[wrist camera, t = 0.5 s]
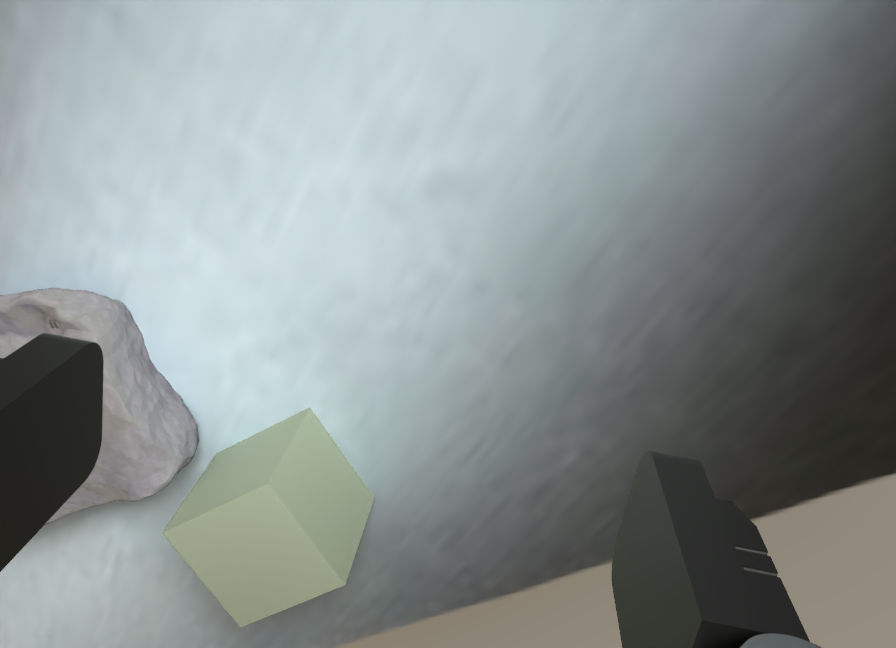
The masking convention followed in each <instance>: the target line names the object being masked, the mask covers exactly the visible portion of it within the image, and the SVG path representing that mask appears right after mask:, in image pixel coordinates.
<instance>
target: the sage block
mask: <svg viewBox="0 0 896 648" xmlns="http://www.w3.org/2000/svg"><path fill="white" fill-rule="evenodd" d="M373 501H374V496H373V495H372V493H371V492H370V491H369V489H368V488H367V486H366V485H365V484H364V482H363V481H362V479H361V478H360V477H359V475H358V474H357V472H356V471H355V470H354V468H353V467H352V465H351V464H350V463H349V461H348V460H347V458H346V457H345V456H344V454H343V453H342V451H341V450H340V449H339V447H338V446H337V444H336V443H335V442H334V440H333V439H332V437H331V436H330V435H329V433H328V432H327V430H326V429H325V428H324V426H323V425H322V423H321V422H320V421H319V419H318V418H317V416H316V415H315V414H314V412H313V411H312V409H311V408H308V409H306V410H304V411H302V412H300V413H298V414H296V415H294V416H292V417H290V418H288V419H286V420H284V421H282V422H280V423H278V424H276V425H273V426H271V427H269V428H267V429H265V430H263V431H261V432H259V433H257V434H255V435H253V436H251V437H249V438H247V439H245V440H243V441H241V442H239V443H237V444H235V445H233V446H231V447H229V448H227V449H225V450H223V451H221V452H219V453H217V454H216V456H215V457H214V459H213V460H212V462H211V463H210V464H209V466H208V467H207V469H206V470H205V472H204V473H203V475H202V476H201V477H200V479H199V480H198V482H197V483H196V485H195V486H194V488H193V489H192V491H191V492H190V493H189V495H188V496H187V498H186V499H185V501H184V502H183V504H182V505H181V506H180V508H179V509H178V511H177V512H176V514H175V515H174V517H173V518H172V519H171V521H170V522H169V524H168V525H167V527H166V528H165V530H164V531H163V532H162V534H163V535H164V536H165V537H166V539H167V540H168V541H169V542H170V543H171V545H172V546H173V547H174V548H175V549H176V551H177V552H178V553H179V554H180V555H181V557H182V558H183V559H184V560H185V561H186V563H187V564H188V565H189V566H190V567H191V569H192V570H193V571H194V572H195V573H196V575H197V576H198V577H199V578H200V580H201V581H202V582H203V583H204V584H205V586H206V587H207V588H208V589H209V590H210V592H211V593H212V594H213V595H214V596H215V598H216V599H217V600H218V601H219V602H220V604H221V605H222V606H223V607H224V608H225V610H226V611H227V612H228V613H229V614H230V616H231V617H232V618H233V619H234V620H235V622H236V623H237V624H238V625H239V627H240V628H241V627H244V626H246V625H248V624H251V623H253V622H256V621H258V620H261V619H263V618H266V617H268V616H271V615H273V614H275V613H278V612H280V611H283V610H285V609H288V608H290V607H293V606H295V605H298V604H300V603H303V602H305V601H307V600H310V599H312V598H315V597H317V596H320V595H322V594H325V593H327V592H330V591H332V590H335V589H337V588H339V587H342V586H344V585H345V584H346V581H347V579H348V576H349V573H350V570H351V567H352V564H353V561H354V558H355V555H356V552H357V549H358V546H359V543H360V540H361V537H362V534H363V531H364V528H365V525H366V522H367V519H368V516H369V513H370V510H371V507H372V504H373Z"/></svg>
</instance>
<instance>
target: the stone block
mask: <svg viewBox="0 0 896 648" xmlns="http://www.w3.org/2000/svg"><path fill="white" fill-rule="evenodd" d="M43 333H49V334H54V335H59V336H65V337H70V338H75V339H80V340H85V341H90V342H95V343H97V344H99V346H100V347H101V349H102V352H103V362H104V365H103V415H102V442H101V448H100V452H99V456H98V459H97V461H96V464H95V466H94V468H93V470H92V472H91V474H90V475H89V477H88V478H87V479H86V481H85V482H84V483H83V484H82V485H81V486H80V487H79V488H78V489H77V490H76V491H75V492H74V494H73V495H72V496H71V497H70V498H69V499H68V500H67V501H66V502H65V503H64V504H63V505H62V506H61V507H60V508H59V510H58V511H57V512H56V513H55V514H54V515H53V516H52V517H51V518H50V519H49V520H48V521H47V522H46V523H45V524H48V523H50V522H53V521H55V520H57V519H60V518H62V517H64V516H66V515H69V514H71V513H74V512H76V511H79V510H82V509H85V508H88V507H91V506H94V505H102V504H107V503H110V502H112V501H115V500H126V501H137V500H140V499H143V498H146V497H149V496H152V495H154V494H155V493H157V492H158V491H160V490H161V489H163V488H164V487H166V486H167V485H168V484H169V483H170V482H171V480H172V479H173V477H174V476H175V475H176V474H177V473H178V472H179V471H180V470H181V469H182V468H183V467H185V466H186V465H187V464H188V463H189V462H190V460H191V459H192V458H193V456H194V454H195V451H196V447H197V444H198V441H199V440H198V430H197V424H196V422H195V420H194V418H193V416H192V415H191V413H190V411H189V409H188V408H187V407H186V405H185V404H184V403H183V401H182V398H181V396H180V395H179V394H178V393H177V392H176V391H175V390H174V389H173V388H172V386H171V385H170V383H169V382H168V381H167V380H166V378H165V377H164V376H163V375H162V374H161V373H159V372H158V371H157V370H156V368H155V366H154V365H153V363H152V362H151V360H150V358H149V355H148V352H147V349H146V346H145V344H144V339H143V336H142V333H141V331H140V330H139V328H138V326H137V324H136V323H135V321H134V319H133V317H132V315H131V313H130V311H129V310H128V309H127V308H126V306H125V305H124V304H123V303H122V302H120V301H117V300H112V299H110V298H108V297H106V296H103V295H99V294H96V293H93V292H89V291H84V290H76V291H75V290H69V289H60V288H49V289H38V290H33V291H26V292H22V293H16V294H10V295H4V296H3V295H0V358H3V359H4V358H5V357H7V356H8V355H10V354H11V353H13V352H14V351H16V350H17V349H19V348H20V347H22V346H23V345H25V344H26V343H28V342H29V341H31V340H32V339H34V338H35V337H37V336H38V335H40V334H43Z"/></svg>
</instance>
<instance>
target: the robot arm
mask: <svg viewBox="0 0 896 648" xmlns="http://www.w3.org/2000/svg"><path fill="white" fill-rule="evenodd" d="M103 365H104V362H103V352H102V349H101V347H100V346H99V344H97V343H95V342H90V341H85V340H80V339H75V338H70V337H65V336H59V335H54V334H49V333H43V334H40V335H38V336H37V337H35V338H34V339H32V340H31V341H29V342H28V343H26V344H25V345H23V346H22V347H20V348H19V349H17V350H16V351H14V352H13V353H11V354H10V355H8V356H7V357H5V358H4V359H3V358H0V572H1V571H2V569H3V568H4V567H5V566H6V565H7V564H8V563H9V562H10V561H11V560H12V559H13V558H14V557H15V556H16V554H17V553H18V552H19V551H20V550H21V549H22V548H23V547H24V546H25V545H26V544H27V543H28V542H29V541H30V540H31V538H32V537H33V536H34V535H35V534H36V533H37V532H38V531H39V530H40V529H41V528H42V527H43V526H44V525H45V523H46V522H47V521H48V520H49V519H50V518H51V517H52V516H53V515H54V514H55V513H56V512H57V511H58V510H59V508H60V507H61V506H62V505H63V504H64V503H65V502H66V501H67V500H68V499H69V498H70V497H71V496H72V495H73V494H74V492H75V491H76V490H77V489H78V488H79V487H80V486H81V485H82V484H83V483H84V482H85V481H86V479H87V478H88V477H89V475H90V474H91V472H92V470H93V468H94V466H95V464H96V461H97V459H98V456H99V452H100V448H101V442H102V415H103ZM767 553H768V551H767V548H766V546H765V544H764V542H763V540H762V538H761V536H760V533H759V531H758V529H757V527H756V526H755V525H754V524H753V523H752V522H751V521H750V520H749V519H748V518H747V517H746V516H745V515H744V514H743V513H742V512H741V511H740V510H739V509H738V508H737V507H736V506H735V505H734V504H733V503H732V502H730V501H724V500H719V499H715V496H714V494H713V491H712V489H711V487H710V484H709V482H708V479H707V477H706V474H705V472H704V469H703V467H702V465H701V463H700V462H699V461H696V460H691V459H686V458H681V457H676V456H671V455H665V454H660V453H655V452H650V451H647V452H646V453H645V454H644V455H643V457H642V459H641V461H640V464H639V467H638V470H637V473H636V476H635V480H634V483H633V486H632V490H631V493H630V496H629V500H628V503H627V506H626V510H625V513H624V516H623V520H622V523H621V526H620V530H619V533H618V536H617V540H616V544H615V549H614V554H613V562H612V586H613V592H614V598H615V604H616V611H617V616H618V622H619V629H620V635H621V641H622V647H623V648H821V647H819V646H817V645H815V644H813V643H810V641H809V639H808V637H807V634H806V632H805V630H804V628H803V626H802V624H801V621H800V620H799V617H798V615H797V613H796V611H795V609H794V606H793V604H792V602H791V600H790V598H789V596H788V594H787V591H786V589H785V587H784V585H783V583H782V581H781V579H780V578H778V577H777V573H778V572H777V570H776V568H775V566H774V564H773V561H772V559H771V557H770V556H767Z"/></svg>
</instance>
